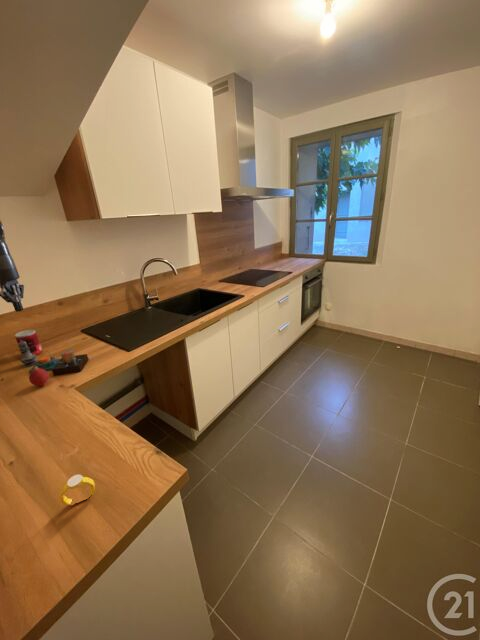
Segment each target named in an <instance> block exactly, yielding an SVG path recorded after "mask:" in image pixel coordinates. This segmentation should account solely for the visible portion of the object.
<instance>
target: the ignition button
mask: <svg viewBox="0 0 480 640" xmlns="http://www.w3.org/2000/svg"><path fill="white" fill-rule="evenodd" d="M50 357H51V356H49V355H45V356H42V357H40V358H39V360H40V363H46V362H49V361H50V360H51V359H50ZM39 360H38V361H39Z"/></svg>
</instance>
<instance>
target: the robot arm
mask: <svg viewBox="0 0 480 640" xmlns="http://www.w3.org/2000/svg"><path fill="white" fill-rule="evenodd" d="M18 279H20V274H19V271H18V269H17V265H16V263H15V260H14V258H13V256H12V254H11V252H10V249H9V247H8V244H7V242H6V236H5V230H4V226H3V222H2V220H1V219H0V298H1V299H2V300H4V301H5V302H6V303H11V304H12V307H13V308H14V311H15V312H23V311H24V306H23V304H22V299H24V293H25V285H24V284H20V282H19V281H18Z"/></svg>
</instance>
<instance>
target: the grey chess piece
mask: <svg viewBox="0 0 480 640" xmlns="http://www.w3.org/2000/svg"><path fill="white" fill-rule="evenodd" d="M17 346H18V349H19V352H20V354H21V357H19V359H18V360H19V362H20V363H22V364H23V365H22V367H23V368H31V367H34V366H35V365H36V363H37V362H38V361H39V360H36V359H37V356H36V354H31V352H30V350H29V349H30V348H29V347H28V346H27V343H26V342H25V341H22V340H20V342H19V343H17Z"/></svg>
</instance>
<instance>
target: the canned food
mask: <svg viewBox="0 0 480 640" xmlns="http://www.w3.org/2000/svg"><path fill="white" fill-rule="evenodd" d="M14 338H15V340H16V343H17V344H18V343H19V342H20V340H22V341H25V342H26V343H27V346H28V347H29V348H30V349H29V350H30V352H31V354H36V357H37V356H39V355H41V354H42V353H43V347H42V345H41V342H40V339H39V337H38V334H37V331H36V329H26V330H22V331H18V332H17V333H15V334H14Z"/></svg>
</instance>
